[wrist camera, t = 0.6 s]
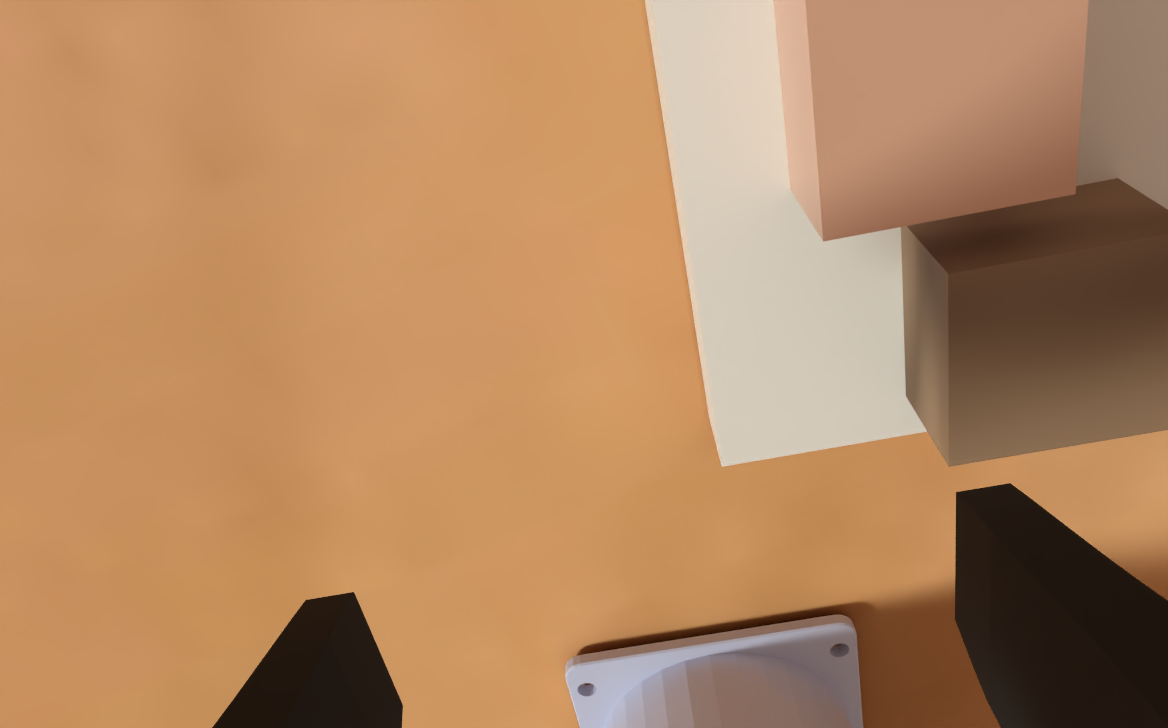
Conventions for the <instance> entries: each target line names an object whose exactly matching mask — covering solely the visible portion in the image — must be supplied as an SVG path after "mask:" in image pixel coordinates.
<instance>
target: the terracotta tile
mask: <svg viewBox="0 0 1168 728" xmlns="http://www.w3.org/2000/svg"><path fill="white" fill-rule="evenodd" d="M1088 3H1089V0H773V4H774V15H775V26H776V37H777V48H778V60H779V71H780V82H781V93H782V104H783V115H784V126H785V137H786V148H787V159H788V171H789V182H790V190H791V192H792V193H793V195H794V196H795V198H796V200H797V201H798V203H799V204H800V206H801V207H802V209H803V211H804V212H805V214H806V215H807V217H808V218H809V220H810V222H811V223H812V225H813V226H814V228H815V229H816V231H817V233H818V234H819V236H820V237H821V239H822V240H823V242H824V241H829V240H834V239H840V238H845V237H850V236H856V235H861V234H866V233H872V232H877V231H882V230H888V229H893V228H898V227H904V226H909V225H914V224H920V223H925V222H930V221H936V220H941V219H946V218H951V217H957V216H962V215H967V214H973V213H978V212H983V211H989V210H994V209H999V208H1005V207H1010V206H1015V205H1021V204H1026V203H1031V202H1037V201H1042V200H1047V199H1053V198H1058V197H1063V196H1068V195H1074V194H1076V179H1077V164H1078V150H1079V135H1080V120H1081V106H1082V91H1083V76H1084V61H1085V47H1086V32H1087V17H1088Z"/></svg>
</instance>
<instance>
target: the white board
mask: <svg viewBox="0 0 1168 728" xmlns="http://www.w3.org/2000/svg"><path fill="white" fill-rule="evenodd" d="M645 5H646V11H647V18H648V24H649V30H650V37H651V43H652V50H653V56H654V63H655V69H656V76H657V82H658V89H659V95H660V102H661V108H662V115H663V121H664V128H665V134H666V141H667V147H668V154H669V160H670V167H671V173H672V180H673V186H674V192H675V199H676V205H677V212H678V218H679V225H680V231H681V238H682V244H683V251H684V257H685V264H686V270H687V277H688V283H689V290H690V296H691V303H692V309H693V316H694V322H695V329H696V335H697V342H698V348H699V355H700V361H701V367H702V374H703V380H704V387H705V393H706V400H707V406H708V413H709V418H710V422H711V426H712V430H713V434H714V438H715V442H716V446H717V450H718V454H719V457H720V461H721V465H722V467H723V466H729V465H735V464H740V463H746V462H752V461H758V460H764V459H770V458H775V457H781V456H787V455H793V454H799V453H805V452H810V451H816V450H822V449H828V448H834V447H840V446H845V445H851V444H857V443H863V442H869V441H874V440H880V439H886V438H892V437H898V436H904V435H909V434H915V433H921V432H927V430H926V428H925V427H924V425H923V423H922V422H921V420H920V419H919V417H918V415H917V414H916V412H915V410H914V409H913V407H912V405H911V404H910V402H909V400H908V399H907V397H906V385H905V351H904V317H903V283H902V249H901V227H898V228H893V229H888V230H882V231H877V232H872V233H866V234H861V235H856V236H850V237H845V238H840V239H834V240H829V241H824V242H823V240H822V239H821V237H820V236H819V234H818V233H817V231H816V229H815V228H814V226H813V225H812V223H811V222H810V220H809V218H808V217H807V215H806V214H805V212H804V211H803V209H802V207H801V206H800V204H799V203H798V201H797V200H796V198H795V196H794V195H793V193H792V192H791V190H790V182H789V171H788V159H787V148H786V137H785V126H784V115H783V104H782V93H781V82H780V71H779V60H778V48H777V37H776V26H775V15H774V4H773V0H645ZM1116 178H1119V179H1120V180H1122V181H1123V182H1125V183H1126V184H1128V185H1130V186H1131V187H1133V188H1134V189H1136V190H1137V191H1139V192H1141V193H1142V194H1144V195H1145V196H1147V197H1149V198H1150V199H1152V200H1153V201H1155V202H1156V203H1158V204H1160V205H1161V206H1163V207H1164V208H1166V209H1168V0H1089V3H1088V17H1087V32H1086V47H1085V61H1084V76H1083V91H1082V106H1081V120H1080V135H1079V150H1078V164H1077V179H1076V186H1079V185H1084V184H1090V183H1095V182H1100V181H1106V180H1111V179H1116Z"/></svg>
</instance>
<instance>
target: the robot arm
mask: <svg viewBox="0 0 1168 728" xmlns="http://www.w3.org/2000/svg"><path fill="white" fill-rule="evenodd" d="M955 620H956V623H957V625H958V628H959V630H960V633H961V636H962V638H963V641H964V644H965V646H966V649H967V651H968V654H969V657H970V659H971V662H972V665H973V667H974V669H975V672H976V674H977V677H978V679H979V682H980V684H981V687H982V689H983V692H984V694H985V697H986V699H987V701H988V703H989V705H990V707H991V709H992V711H993V713H994V715H995V717H996V719H997V721H998V723H999V724H1000V726H1001V728H1168V601H1167V600H1166V599H1164V598H1163V597H1162V596H1160V595H1159V594H1157V593H1156V592H1155V591H1153V590H1152V589H1150V588H1149V587H1148V586H1146V585H1145V584H1143V583H1142V582H1140V581H1139V580H1138V579H1136V578H1135V577H1133V576H1132V575H1131V574H1129V573H1128V572H1127V571H1125V570H1124V569H1123V568H1121V567H1120V566H1118V565H1117V564H1116V563H1114V562H1113V561H1112V560H1110V559H1109V558H1108V557H1106V556H1105V555H1104V554H1102V553H1101V552H1100V551H1098V550H1097V549H1096V548H1094V547H1093V546H1092V545H1090V544H1089V543H1088V542H1087V541H1085V540H1084V539H1083V538H1081V537H1080V536H1079V535H1077V534H1076V533H1075V532H1073V531H1072V530H1071V529H1069V528H1068V527H1067V526H1066V525H1064V524H1063V523H1062V522H1060V521H1059V520H1058V519H1056V518H1055V517H1054V516H1053V515H1051V514H1050V513H1049V512H1047V511H1046V510H1045V509H1044V508H1042V507H1041V506H1040V505H1038V504H1037V503H1036V502H1034V501H1033V500H1032V499H1030V498H1029V497H1028V496H1027V495H1025V494H1024V493H1023V492H1021V491H1020V490H1018V489H1017V488H1016V487H1014V486H1013V485H1012V484H1010V483H1009V484H1003V485H997V486H991V487H985V488H979V489H973V490H967V491H961V492H956V581H955ZM836 644H841V645H839V646H834V645H836ZM565 666H566V682H567V685H568V689H569V692H570V695H571V699H572V702H573V706H574V709H575V712H576V716H577V719H578V723H579V726H580V728H863V717H862V703H861V688H860V674H859V660H858V646H857V633H856V630H855V628H854V625H853V622H852V620H851V619H850V618H849V617H847V616H844V615H829V616H822V617H816V618H810V619H803V620H797V621H791V622H785V623H778V624H772V625H766V626H759V627H753V628H747V629H740V630H734V631H728V632H721V633H715V634H709V635H702V636H696V637H690V638H683V639H677V640H671V641H665V642H658V643H652V644H646V645H639V646H633V647H627V648H620V649H614V650H608V651H601V652H595V653H589V654H582V655H578V656H575V657H573V658H571V659H570V660H568V662H567V664H566V665H565ZM584 683H591V684H590V685H583V684H584ZM402 710H403V705H402V703H401V700H400V698H399V696H398V693H397V691H396V689H395V686H394V684H393V682H392V679H391V677H390V675H389V672H388V670H387V668H386V665H385V663H384V661H383V658H382V656H381V654H380V652H379V649H378V647H377V645H376V642H375V640H374V638H373V635H372V633H371V631H370V628H369V626H368V624H367V621H366V619H365V617H364V614H363V612H362V610H361V607H360V605H359V603H358V601H357V598H356V596H355V594H354V592H352V593H346V594H340V595H334V596H328V597H322V598H316V599H310V600H306V601H305V602H304V603H303V605H302V606H301V607H300V609H299V610H298V611H297V613H296V614H295V615H294V617H293V618H292V619H291V621H290V622H289V623H288V625H287V626H286V628H285V629H284V630H283V632H282V633H281V634H280V636H279V637H278V639H277V640H276V641H275V643H274V644H273V645H272V647H271V648H270V650H269V651H268V652H267V654H266V655H265V657H264V658H263V659H262V661H261V662H260V663H259V665H258V666H257V668H256V669H255V670H254V672H253V673H252V675H251V676H250V677H249V679H248V680H247V681H246V683H245V684H244V686H243V687H242V688H241V690H240V691H239V693H238V694H237V695H236V697H235V698H234V699H233V701H232V702H231V703H230V705H229V706H228V707H227V709H226V710H225V711H224V713H223V714H222V715H221V717H220V718H219V719H218V721H217V722H216V723H215V725H214V726H213V727H212V728H402Z"/></svg>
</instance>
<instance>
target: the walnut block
mask: <svg viewBox="0 0 1168 728" xmlns="http://www.w3.org/2000/svg"><path fill="white" fill-rule="evenodd" d="M901 249H902V283H903V317H904V351H905V385H906V397H907V399H908V400H909V402H910V404H911V405H912V407H913V409H914V410H915V412H916V414H917V415H918V417H919V419H920V420H921V422H922V423H923V425H924V427H925V428H926V430H927V432H928V433H929V435H930V437H931V438H932V440H933V442H934V443H935V445H936V446H937V448H938V450H939V451H940V453H941V455H942V456H943V458H944V460H945V461H946V463H947V465H948V466H949V467H950V466H956V465H962V464H968V463H974V462H979V461H985V460H991V459H997V458H1003V457H1009V456H1015V455H1021V454H1027V453H1033V452H1039V451H1045V450H1051V449H1057V448H1063V447H1068V446H1074V445H1080V444H1086V443H1092V442H1098V441H1104V440H1110V439H1116V438H1122V437H1128V436H1134V435H1140V434H1146V433H1152V432H1157V431H1163V430H1168V209H1166V208H1164V207H1163V206H1161V205H1160V204H1158V203H1156V202H1155V201H1153V200H1152V199H1150V198H1149V197H1147V196H1145V195H1144V194H1142V193H1141V192H1139V191H1137V190H1136V189H1134V188H1133V187H1131V186H1130V185H1128V184H1126V183H1125V182H1123V181H1122V180H1120V179H1119V178H1116V179H1111V180H1106V181H1100V182H1095V183H1090V184H1084V185H1079V186H1076V194H1074V195H1068V196H1063V197H1058V198H1053V199H1047V200H1042V201H1037V202H1031V203H1026V204H1021V205H1015V206H1010V207H1005V208H999V209H994V210H989V211H983V212H978V213H973V214H967V215H962V216H957V217H951V218H946V219H941V220H936V221H930V222H925V223H920V224H914V225H909V226H904V227H901Z"/></svg>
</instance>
